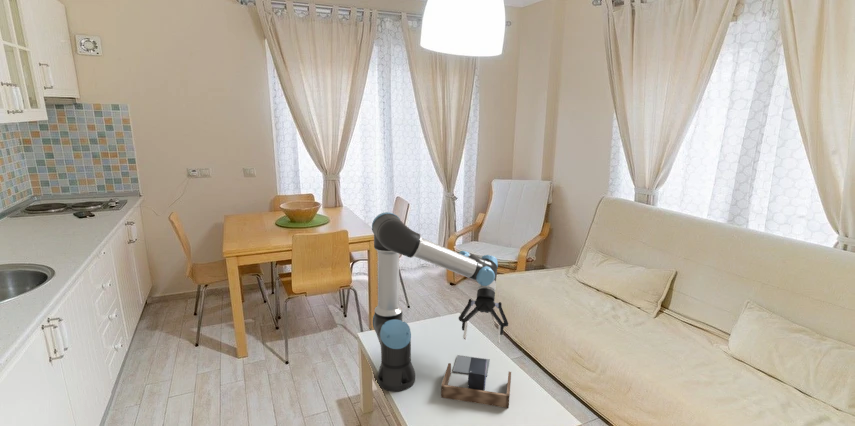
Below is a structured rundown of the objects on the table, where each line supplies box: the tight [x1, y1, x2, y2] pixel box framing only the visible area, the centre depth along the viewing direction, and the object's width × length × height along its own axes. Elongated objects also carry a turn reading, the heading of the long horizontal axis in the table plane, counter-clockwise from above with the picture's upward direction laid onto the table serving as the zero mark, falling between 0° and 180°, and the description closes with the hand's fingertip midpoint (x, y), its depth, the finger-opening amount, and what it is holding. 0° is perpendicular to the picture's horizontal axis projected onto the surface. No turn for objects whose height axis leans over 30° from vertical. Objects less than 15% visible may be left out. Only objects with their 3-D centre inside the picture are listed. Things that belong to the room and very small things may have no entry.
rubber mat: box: [452, 354, 491, 378], centre depth 181 cm, size 14×12×1 cm
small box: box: [467, 356, 487, 391], centre depth 165 cm, size 11×6×10 cm, turn 168°
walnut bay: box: [440, 362, 512, 409], centre depth 166 cm, size 25×15×5 cm, turn 77°
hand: (481, 340), depth 173 cm, fingers open, 13 cm apart
